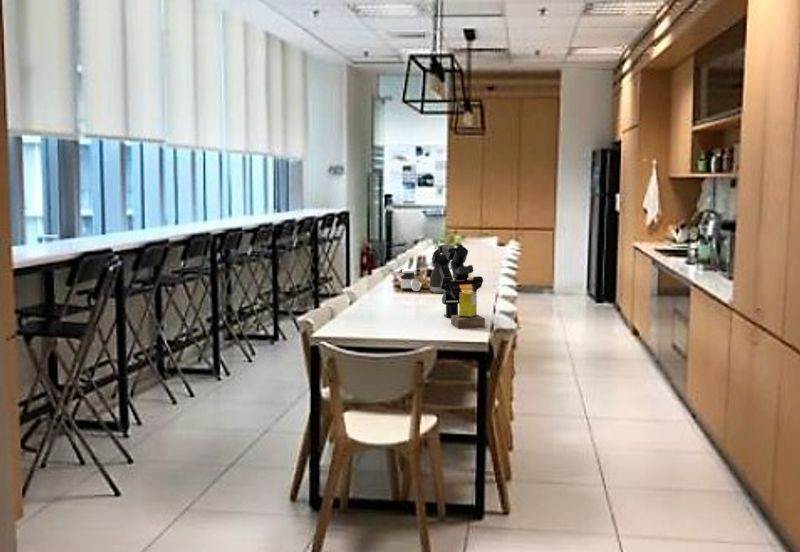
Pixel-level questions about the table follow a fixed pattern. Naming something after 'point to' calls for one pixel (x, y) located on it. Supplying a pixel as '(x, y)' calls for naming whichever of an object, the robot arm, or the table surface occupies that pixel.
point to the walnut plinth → (467, 322)
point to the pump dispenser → (435, 281)
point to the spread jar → (409, 281)
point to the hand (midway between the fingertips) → (465, 297)
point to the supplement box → (467, 304)
